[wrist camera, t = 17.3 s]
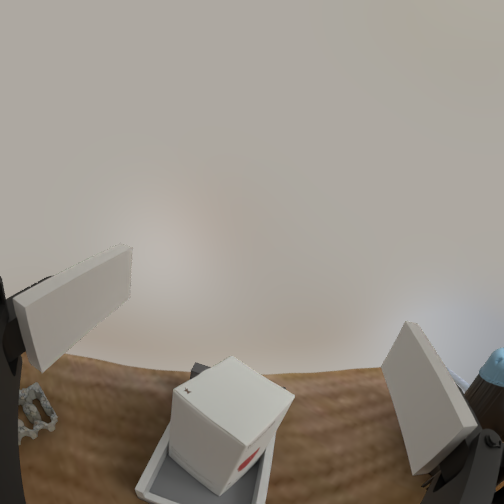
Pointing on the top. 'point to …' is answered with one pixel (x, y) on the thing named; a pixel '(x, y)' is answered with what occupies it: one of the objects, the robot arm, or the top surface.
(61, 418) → the top surface
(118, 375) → the top surface
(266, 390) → the supplement box
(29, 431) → the egg carton
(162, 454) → the tray
